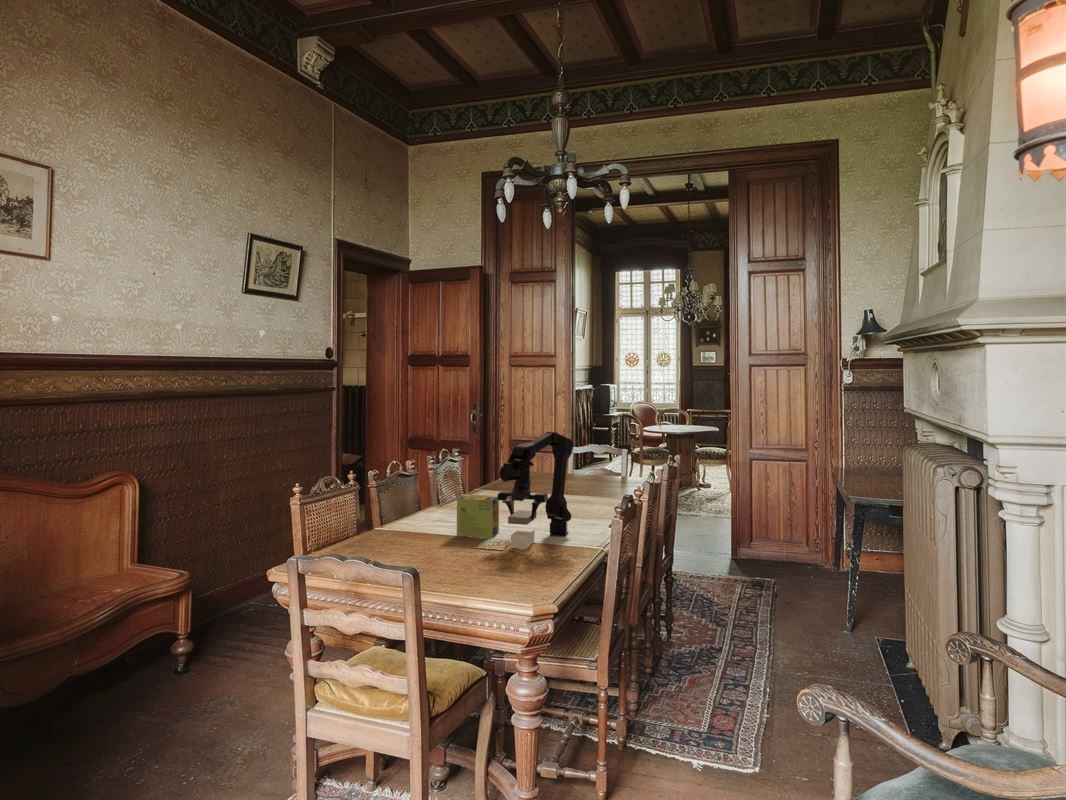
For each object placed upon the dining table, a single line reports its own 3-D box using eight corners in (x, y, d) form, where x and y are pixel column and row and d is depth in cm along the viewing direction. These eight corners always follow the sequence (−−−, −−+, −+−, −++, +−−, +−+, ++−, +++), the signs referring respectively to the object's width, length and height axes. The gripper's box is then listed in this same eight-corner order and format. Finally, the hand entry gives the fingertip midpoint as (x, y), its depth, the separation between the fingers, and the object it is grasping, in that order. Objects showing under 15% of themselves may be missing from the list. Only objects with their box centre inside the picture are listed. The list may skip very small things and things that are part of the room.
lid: (536, 517, 262) (536, 511, 262) (527, 524, 249) (527, 518, 249) (518, 516, 264) (518, 510, 263) (508, 523, 251) (508, 516, 251)
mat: (514, 540, 264) (514, 539, 264) (502, 550, 248) (502, 549, 248) (488, 538, 267) (488, 537, 267) (474, 548, 251) (474, 547, 251)
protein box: (493, 538, 267) (493, 500, 267) (456, 536, 270) (456, 498, 270) (499, 532, 278) (499, 495, 277) (464, 530, 281) (464, 494, 280)
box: (534, 542, 262) (534, 529, 261) (525, 549, 250) (525, 536, 250) (519, 541, 263) (519, 528, 263) (510, 548, 252) (510, 535, 251)
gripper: (492, 480, 250) (492, 521, 251) (540, 482, 245) (540, 525, 246) (501, 476, 261) (501, 516, 262) (548, 478, 256) (548, 518, 257)
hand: (522, 519), depth 256 cm, fingers closed on lid, 7 cm apart
